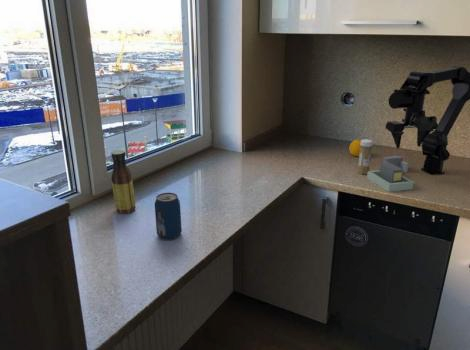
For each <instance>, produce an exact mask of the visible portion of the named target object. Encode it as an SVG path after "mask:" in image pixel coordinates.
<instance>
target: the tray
mask: <svg viewBox="0 0 470 350" xmlns="http://www.w3.org/2000/svg"><path fill="white" fill-rule="evenodd" d="M379 174H380V169H379V170H378V169H377V170H371V171H370V170H369V171H368V173H367V174H366V179H367V180H369V181H370V182H372V183H373V184H375V185H377V186H379V187H380V188H382V189H383V190H385V191H386V192H387V193H392V192H398V191H408V190H409V191H410V190H413V189H414V183H415V181H413V180H411V179H410V178H407V177H405V176H404V175H402V181H401V182H398V183H389V182H387V181H386V180H384V179H382V178H380V177H379Z"/></svg>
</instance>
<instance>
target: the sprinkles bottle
mask: <svg viewBox="0 0 470 350" xmlns="http://www.w3.org/2000/svg"><path fill="white" fill-rule="evenodd" d="M360 140H361V144H360V145H361V148H360V155H359V156H358V164H357V165H358V166H357V167H358V168H357V173H358V174H359V175H367V173H368V171H370V166H371V160H372V159H371V158H372V148H373V144H374V143H373V142H374V141H373V140H372V139H365V138H364V139H360Z"/></svg>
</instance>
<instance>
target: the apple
mask: <svg viewBox="0 0 470 350" xmlns="http://www.w3.org/2000/svg"><path fill="white" fill-rule="evenodd" d="M361 140H362V139H355V140H353V141H352V142H350V145H349V148H348V149H349V152H350V154H351V155H352V156H354V157H359V155H360V148H361V145H360V144H361Z"/></svg>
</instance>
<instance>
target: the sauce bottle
mask: <svg viewBox="0 0 470 350" xmlns="http://www.w3.org/2000/svg"><path fill="white" fill-rule="evenodd" d="M110 155H111V158H112V164H113V168H112V173H111V178H110V180H111V185H112V192H113V198H114V199H113V200H114V205H115V209H116V212H117V213H119V214H123V215H124V214H128V213H129V214H130V213H133V212H134V211H135V210H136V197H135V191H134V184H133V183H134V182H133V177H132V172H131V170H130V168H129V167H128V166H127V162H126V151H125V150H123V149H118V150H116V149H115V150H113V151H111V154H110Z"/></svg>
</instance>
